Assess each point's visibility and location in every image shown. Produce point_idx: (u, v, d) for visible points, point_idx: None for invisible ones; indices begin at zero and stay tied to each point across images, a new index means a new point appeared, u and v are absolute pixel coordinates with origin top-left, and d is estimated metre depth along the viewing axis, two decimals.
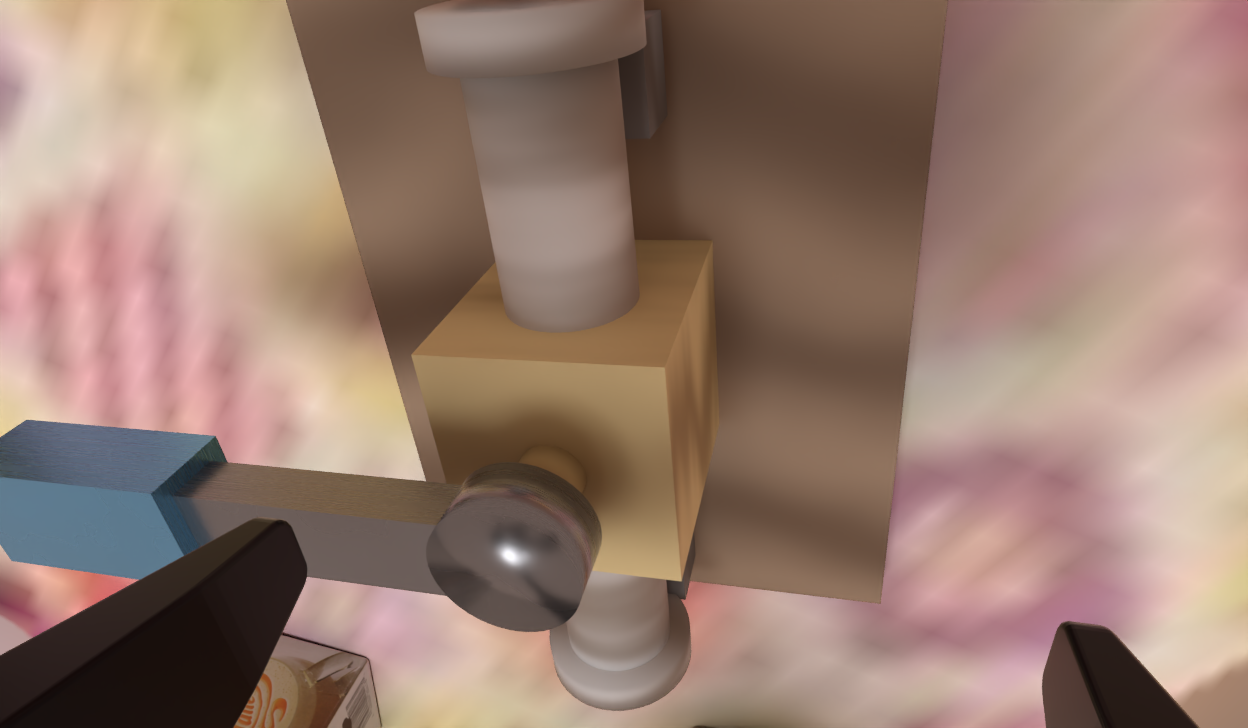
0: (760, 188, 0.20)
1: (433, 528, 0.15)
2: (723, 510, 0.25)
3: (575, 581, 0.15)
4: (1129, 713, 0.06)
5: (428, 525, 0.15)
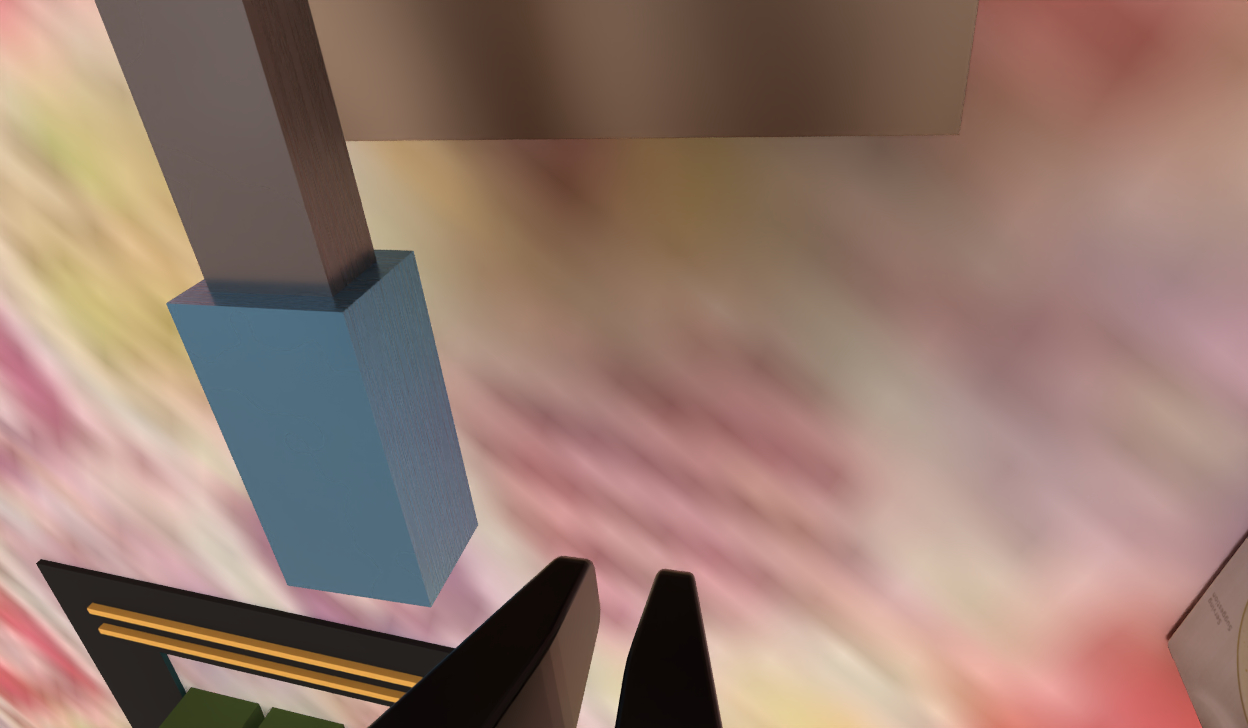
0: None
1: None
2: None
3: None
4: (653, 640, 0.07)
5: None
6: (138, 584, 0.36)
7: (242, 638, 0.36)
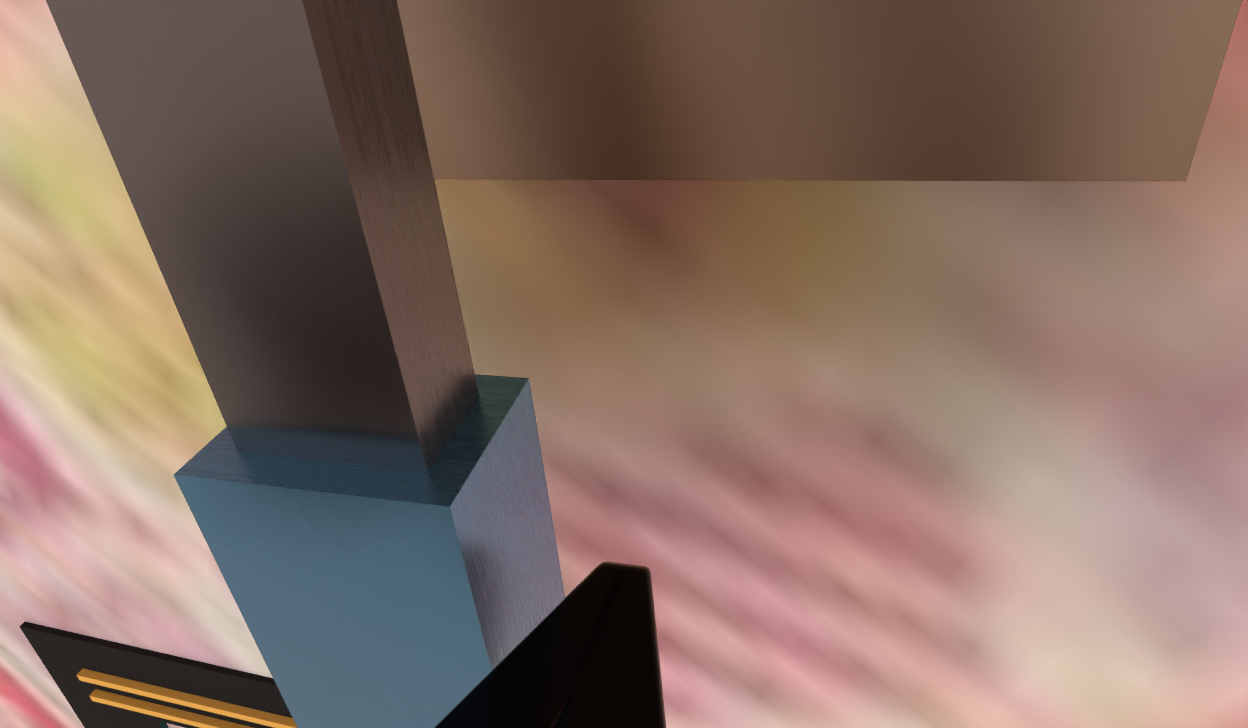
0: None
1: None
2: None
3: None
4: (604, 633, 0.08)
5: None
6: (134, 651, 0.33)
7: (250, 710, 0.33)
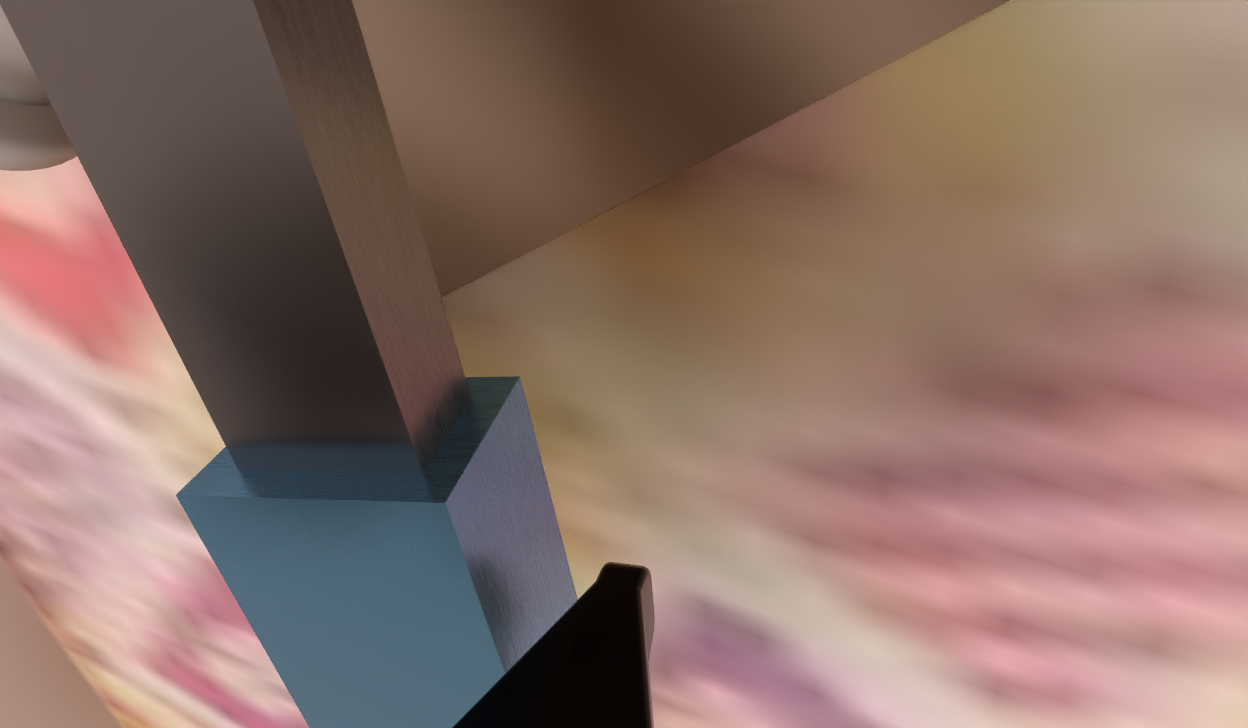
0: None
1: None
2: None
3: None
4: (591, 631, 0.08)
5: None
6: None
7: None
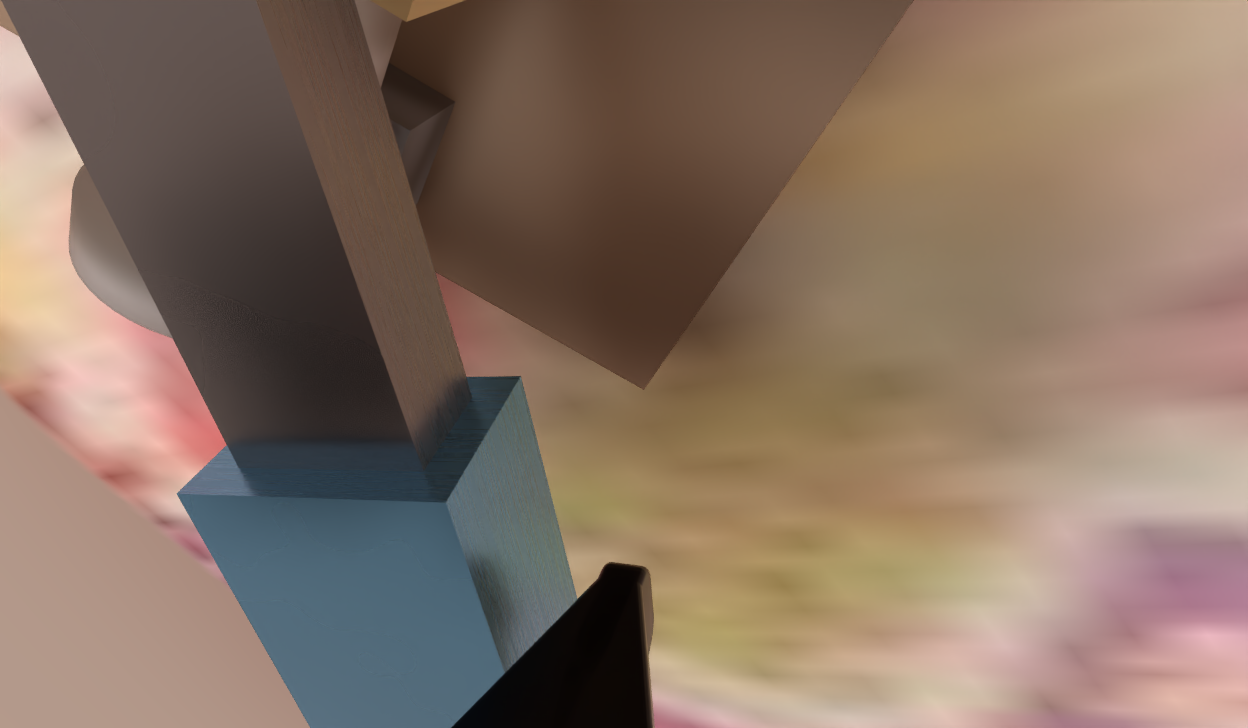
0: None
1: None
2: None
3: None
4: (592, 631, 0.08)
5: None
6: None
7: None
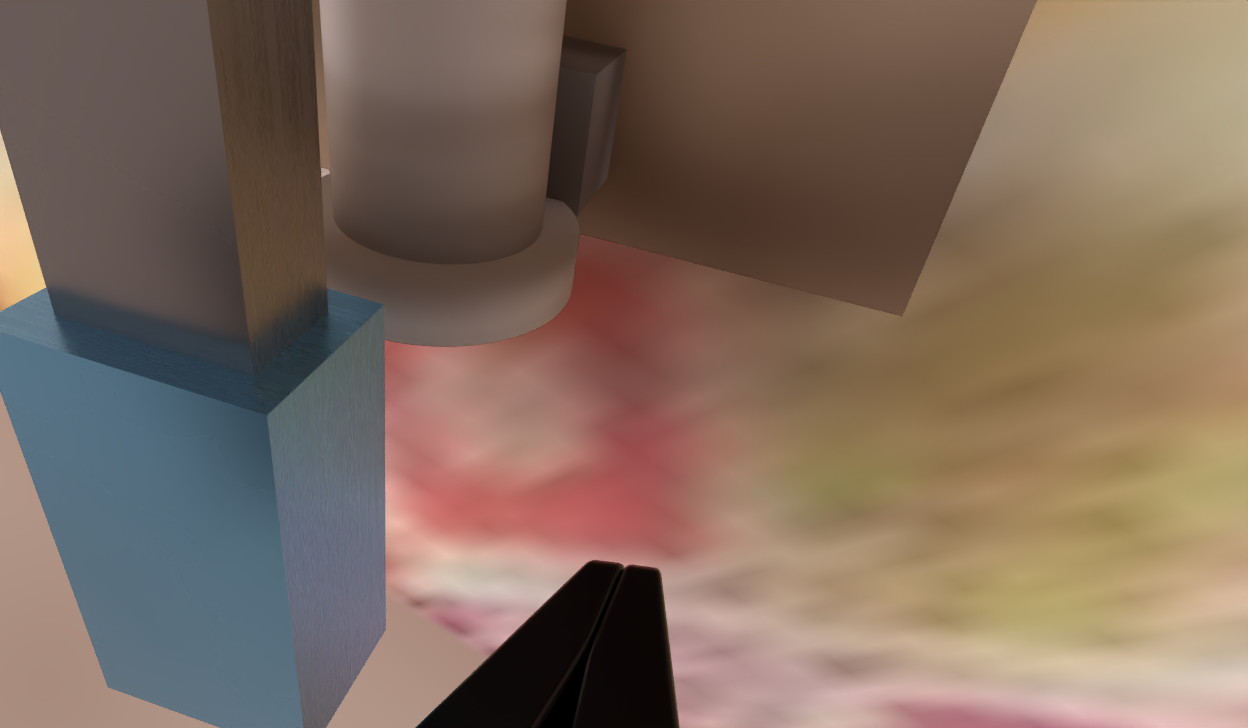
0: None
1: None
2: None
3: None
4: (615, 635, 0.07)
5: None
6: None
7: None
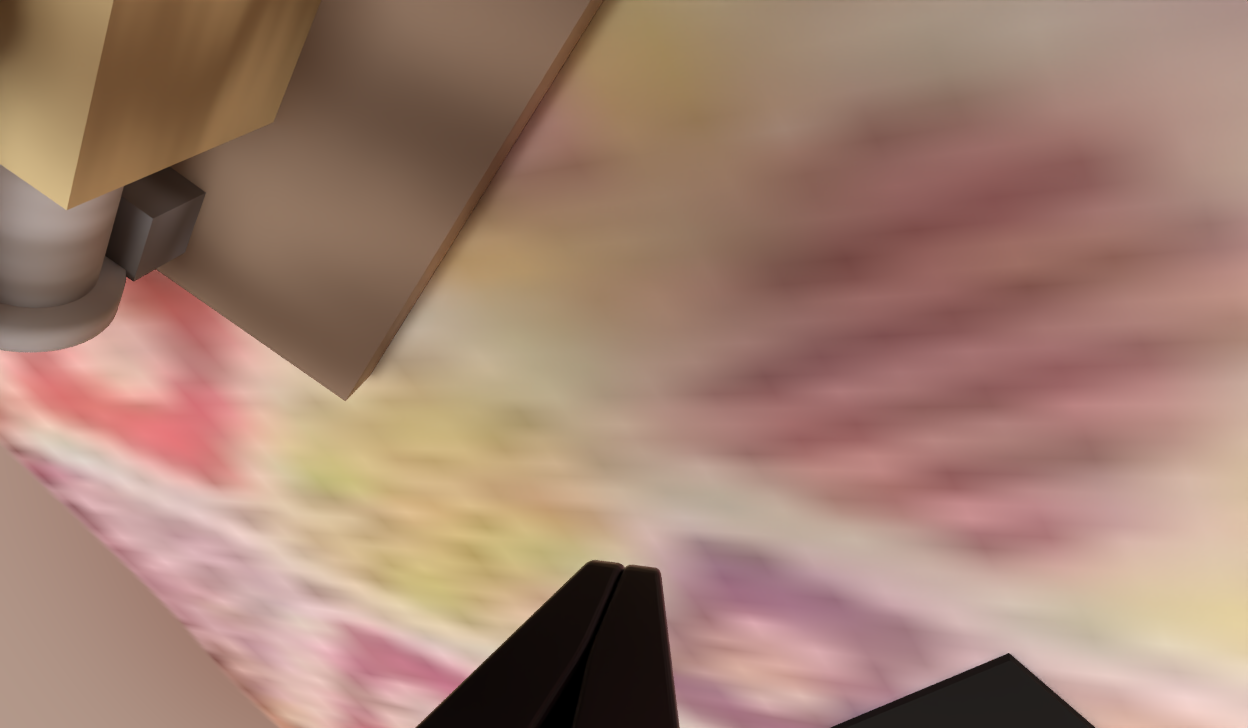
0: None
1: None
2: None
3: None
4: (615, 635, 0.07)
5: None
6: None
7: None
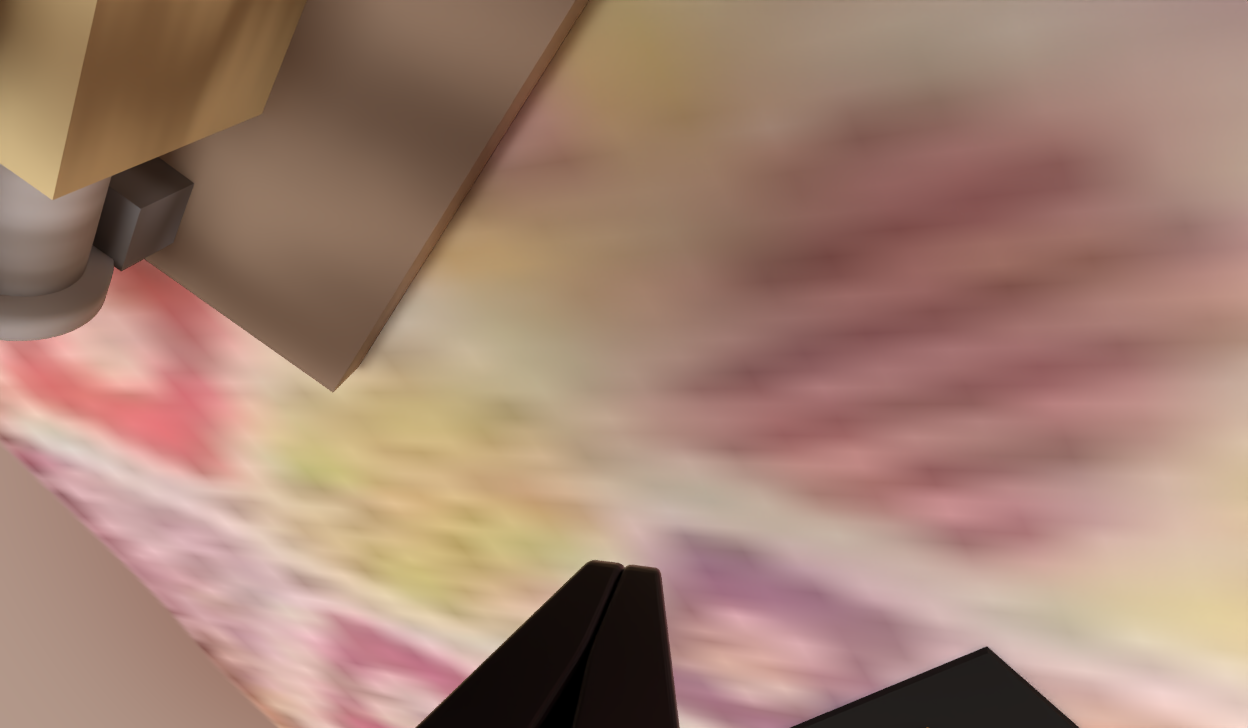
0: None
1: None
2: None
3: None
4: (615, 635, 0.07)
5: None
6: None
7: None
